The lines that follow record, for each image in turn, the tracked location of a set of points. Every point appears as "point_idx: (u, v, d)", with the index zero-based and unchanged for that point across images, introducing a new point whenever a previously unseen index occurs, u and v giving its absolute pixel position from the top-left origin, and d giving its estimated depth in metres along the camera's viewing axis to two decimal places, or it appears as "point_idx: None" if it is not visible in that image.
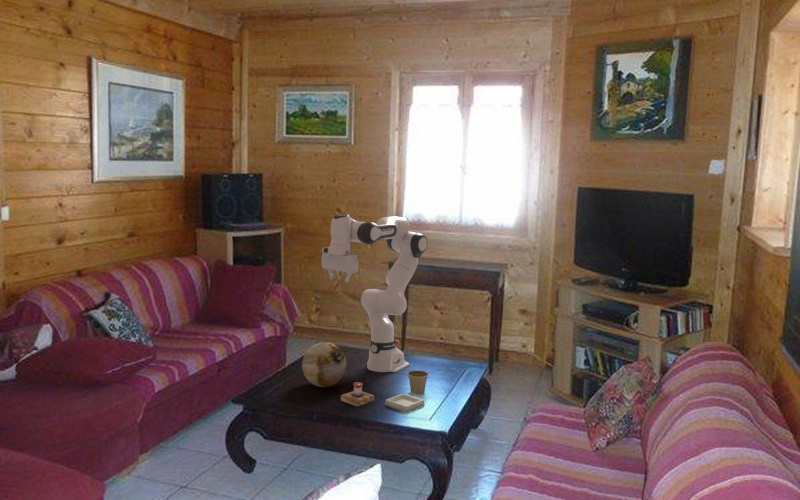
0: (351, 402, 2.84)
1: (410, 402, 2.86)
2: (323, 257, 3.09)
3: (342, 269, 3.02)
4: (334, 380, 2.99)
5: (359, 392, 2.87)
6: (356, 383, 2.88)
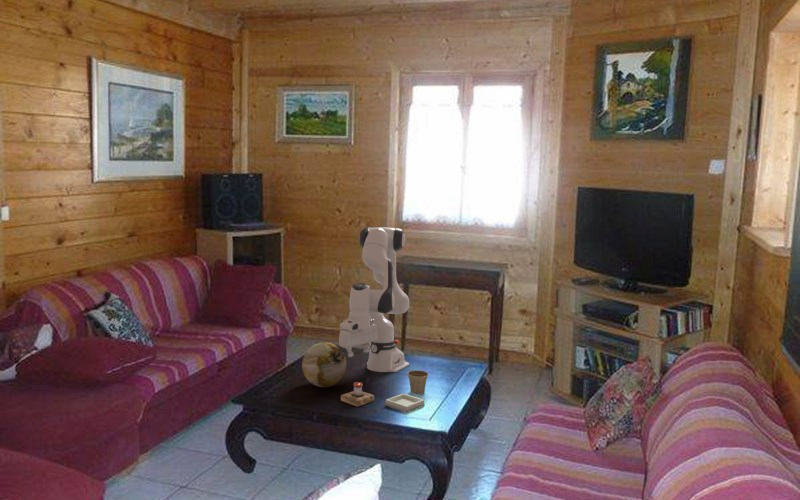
0: (351, 402, 2.84)
1: (410, 402, 2.86)
2: (348, 336, 2.77)
3: (367, 341, 2.87)
4: (334, 380, 2.99)
5: (359, 392, 2.87)
6: (356, 383, 2.88)
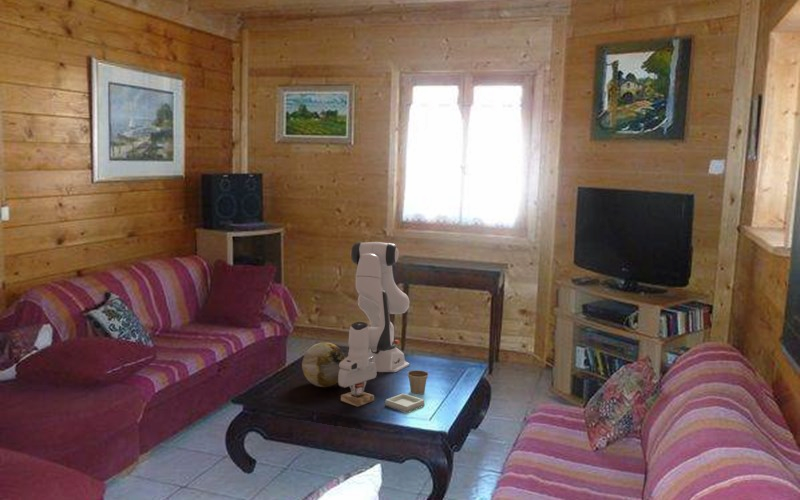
0: (351, 402, 2.84)
1: (410, 402, 2.86)
2: (348, 375, 2.79)
3: (366, 379, 2.89)
4: (334, 380, 2.99)
5: (359, 392, 2.87)
6: None
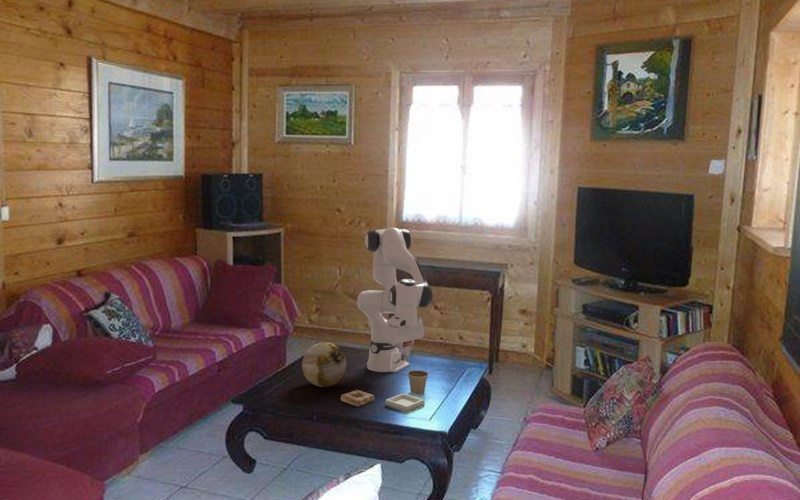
0: (351, 402, 2.84)
1: (410, 402, 2.86)
2: (396, 332, 2.73)
3: (414, 337, 2.83)
4: (334, 380, 2.99)
5: (407, 351, 2.80)
6: (404, 342, 2.82)
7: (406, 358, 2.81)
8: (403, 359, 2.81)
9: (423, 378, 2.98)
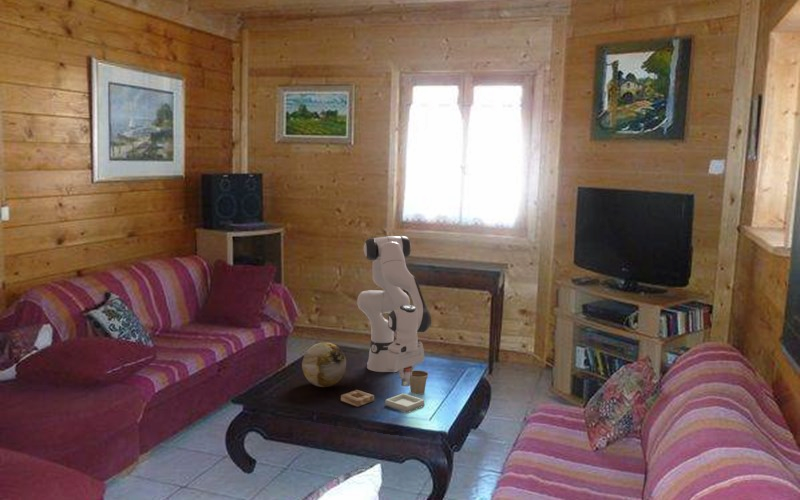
0: (351, 402, 2.84)
1: (410, 402, 2.86)
2: (397, 358, 2.74)
3: (414, 363, 2.84)
4: (334, 380, 2.99)
5: (407, 376, 2.82)
6: None
7: (407, 383, 2.82)
8: (404, 384, 2.82)
9: (423, 378, 2.98)
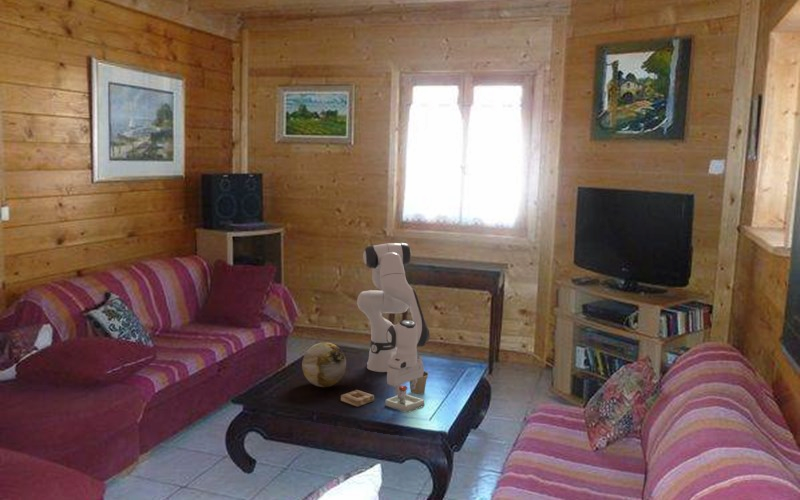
0: (351, 402, 2.84)
1: (410, 402, 2.86)
2: (397, 374, 2.75)
3: (414, 378, 2.85)
4: (334, 380, 2.99)
5: (403, 396, 2.81)
6: (400, 386, 2.83)
7: (403, 403, 2.81)
8: None
9: (423, 378, 2.98)
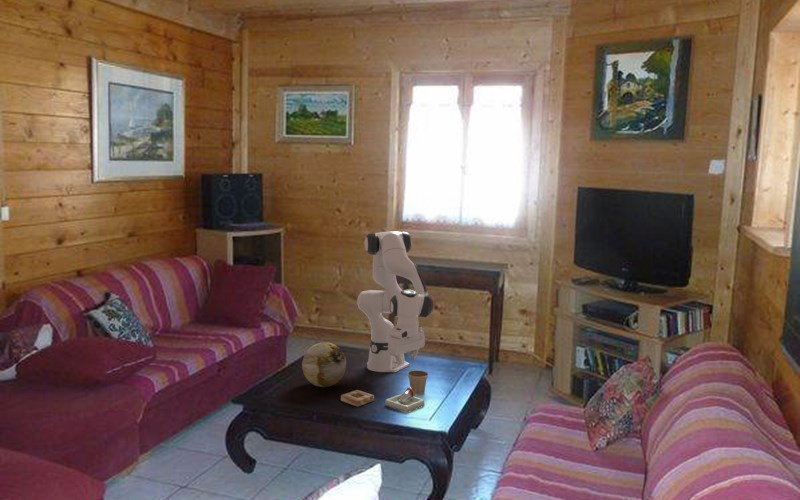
0: (351, 402, 2.84)
1: (410, 402, 2.86)
2: (398, 343, 2.74)
3: (415, 348, 2.83)
4: (334, 380, 2.99)
5: (409, 395, 2.85)
6: None
7: (404, 398, 2.83)
8: (401, 396, 2.83)
9: (423, 378, 2.98)
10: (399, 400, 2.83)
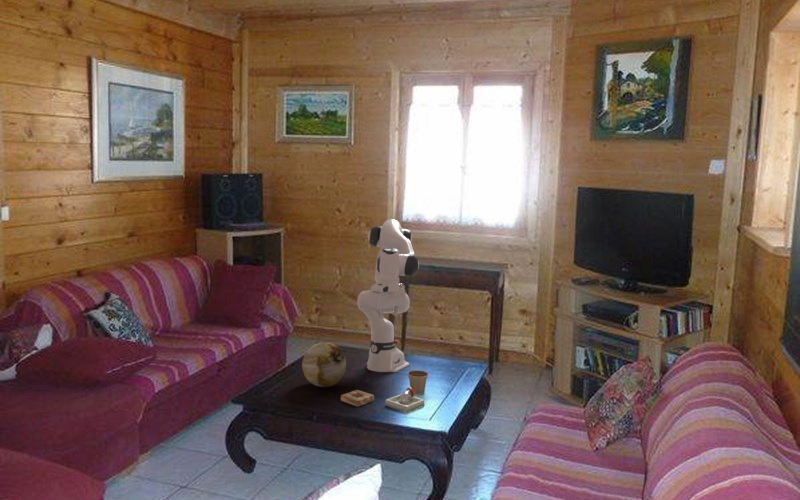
0: (351, 402, 2.84)
1: (410, 402, 2.86)
2: (379, 298, 2.88)
3: (396, 304, 2.97)
4: (334, 380, 2.99)
5: (409, 395, 2.85)
6: None
7: (404, 398, 2.83)
8: (401, 396, 2.83)
9: (423, 378, 2.98)
10: (399, 400, 2.83)
